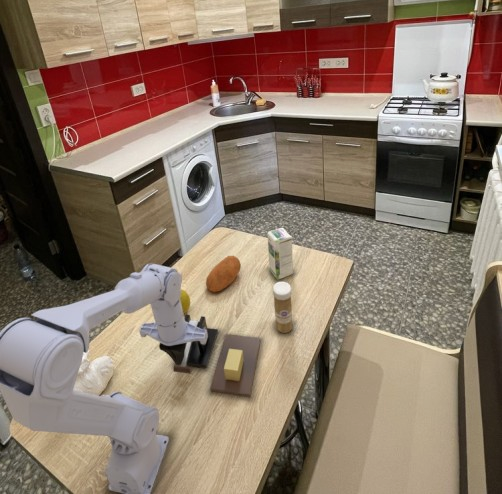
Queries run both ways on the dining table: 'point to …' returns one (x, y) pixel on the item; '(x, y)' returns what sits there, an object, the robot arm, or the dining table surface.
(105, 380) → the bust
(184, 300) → the lemon
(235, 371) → the butter
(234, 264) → the potato
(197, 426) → the dining table surface
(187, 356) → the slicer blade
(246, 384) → the board
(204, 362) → the slicer
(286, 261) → the syrup box
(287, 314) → the sprinkles bottle
